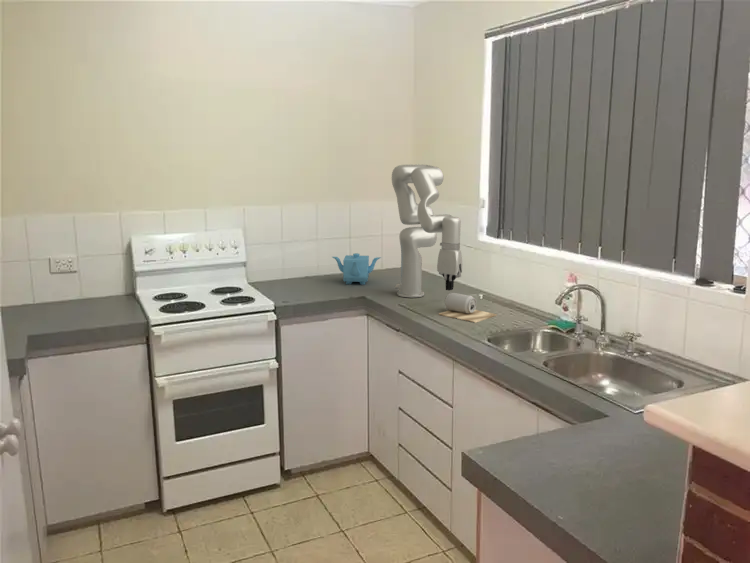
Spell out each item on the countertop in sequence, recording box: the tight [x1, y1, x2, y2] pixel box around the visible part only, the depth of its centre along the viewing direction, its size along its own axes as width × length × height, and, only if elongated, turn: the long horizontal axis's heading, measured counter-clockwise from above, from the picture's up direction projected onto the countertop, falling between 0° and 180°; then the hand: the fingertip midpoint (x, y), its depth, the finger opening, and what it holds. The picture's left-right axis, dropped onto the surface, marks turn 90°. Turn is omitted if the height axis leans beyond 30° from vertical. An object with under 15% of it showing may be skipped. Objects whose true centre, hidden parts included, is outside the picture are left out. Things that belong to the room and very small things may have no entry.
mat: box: [438, 309, 498, 324], centre depth 278 cm, size 18×16×1 cm
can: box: [444, 292, 477, 314], centre depth 280 cm, size 8×8×12 cm
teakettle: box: [332, 252, 382, 286], centre depth 338 cm, size 19×19×15 cm
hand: (449, 289), depth 282 cm, fingers closed
